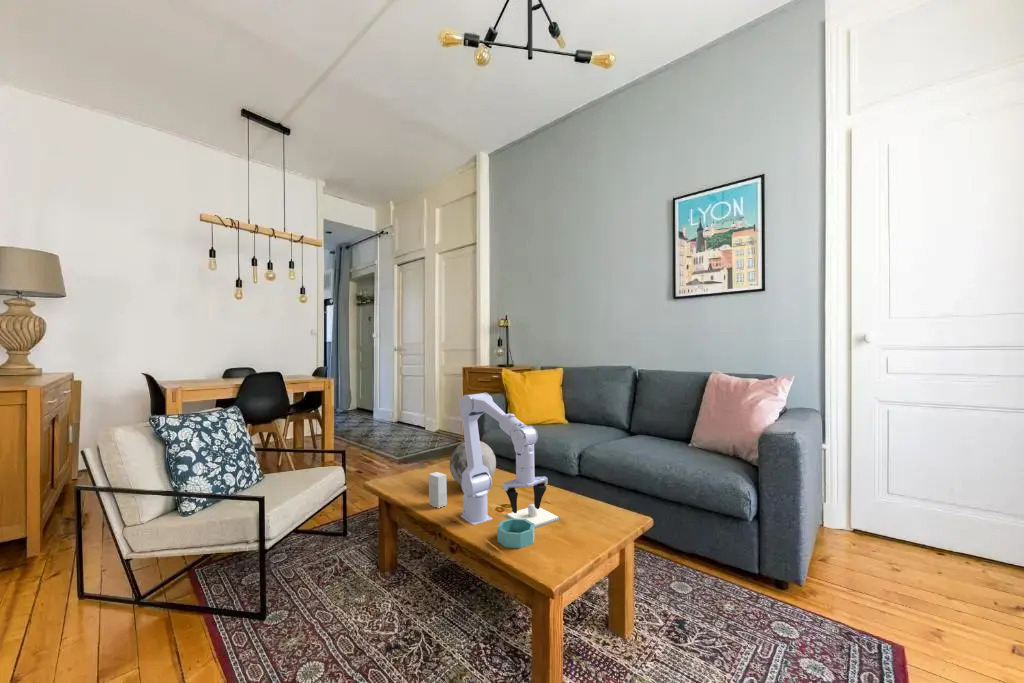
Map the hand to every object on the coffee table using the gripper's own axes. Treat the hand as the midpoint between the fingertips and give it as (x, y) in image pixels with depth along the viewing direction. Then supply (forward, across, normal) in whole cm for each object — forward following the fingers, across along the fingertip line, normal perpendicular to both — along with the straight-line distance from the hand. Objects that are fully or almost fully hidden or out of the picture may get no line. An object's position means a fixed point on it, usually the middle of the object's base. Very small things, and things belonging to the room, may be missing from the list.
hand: (525, 510), depth 128 cm
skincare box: (+10, -19, +40) cm, 46 cm away
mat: (+10, +9, +15) cm, 20 cm away
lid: (+10, +9, +15) cm, 20 cm away
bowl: (+10, -2, +2) cm, 10 cm away
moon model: (+10, 0, +55) cm, 56 cm away
